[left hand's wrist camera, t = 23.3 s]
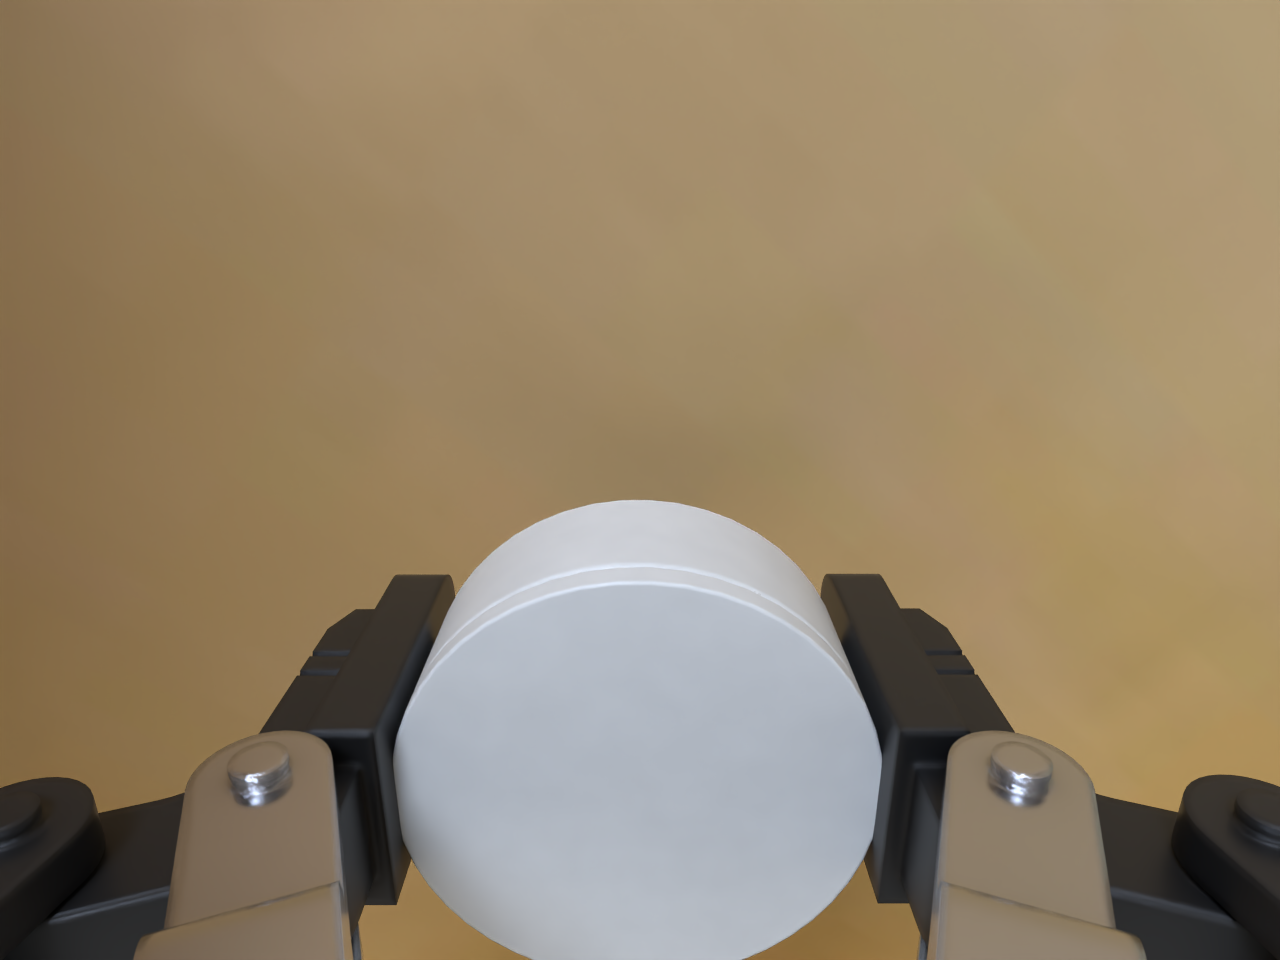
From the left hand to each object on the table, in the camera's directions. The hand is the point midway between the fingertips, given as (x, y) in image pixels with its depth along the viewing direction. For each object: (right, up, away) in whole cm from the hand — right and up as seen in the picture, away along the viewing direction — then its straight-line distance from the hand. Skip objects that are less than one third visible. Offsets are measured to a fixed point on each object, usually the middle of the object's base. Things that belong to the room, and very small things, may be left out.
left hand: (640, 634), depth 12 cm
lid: (0, -1, -3) cm, 3 cm away
